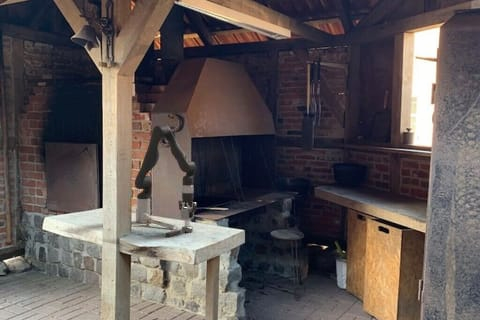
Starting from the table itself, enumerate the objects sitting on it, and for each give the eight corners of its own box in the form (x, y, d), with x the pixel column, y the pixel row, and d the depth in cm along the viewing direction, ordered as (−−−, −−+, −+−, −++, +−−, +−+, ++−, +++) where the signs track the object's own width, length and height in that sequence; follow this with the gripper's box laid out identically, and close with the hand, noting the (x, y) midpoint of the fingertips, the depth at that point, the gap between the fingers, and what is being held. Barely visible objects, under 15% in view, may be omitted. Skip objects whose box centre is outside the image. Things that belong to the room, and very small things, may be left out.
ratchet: (163, 236, 278) (163, 224, 277) (186, 230, 296) (186, 218, 295) (171, 237, 274) (171, 225, 273) (194, 231, 292) (194, 220, 291)
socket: (180, 218, 289) (180, 208, 289) (186, 217, 294) (187, 207, 294) (187, 219, 286) (187, 209, 286) (193, 218, 291) (193, 208, 291)
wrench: (175, 234, 296) (139, 224, 308) (177, 233, 298) (141, 223, 310) (177, 222, 295) (140, 212, 307) (178, 222, 297) (142, 212, 309)
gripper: (175, 191, 290) (175, 216, 291) (192, 193, 282) (192, 219, 283) (183, 190, 296) (182, 215, 297) (200, 192, 288) (199, 217, 289)
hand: (187, 217), depth 290 cm, fingers closed on socket, 6 cm apart
